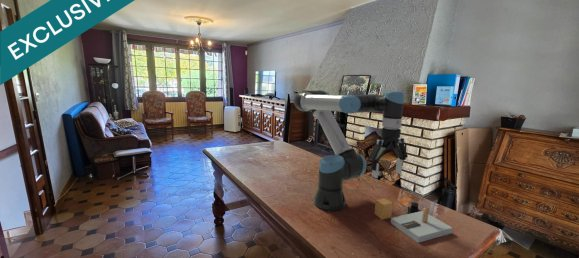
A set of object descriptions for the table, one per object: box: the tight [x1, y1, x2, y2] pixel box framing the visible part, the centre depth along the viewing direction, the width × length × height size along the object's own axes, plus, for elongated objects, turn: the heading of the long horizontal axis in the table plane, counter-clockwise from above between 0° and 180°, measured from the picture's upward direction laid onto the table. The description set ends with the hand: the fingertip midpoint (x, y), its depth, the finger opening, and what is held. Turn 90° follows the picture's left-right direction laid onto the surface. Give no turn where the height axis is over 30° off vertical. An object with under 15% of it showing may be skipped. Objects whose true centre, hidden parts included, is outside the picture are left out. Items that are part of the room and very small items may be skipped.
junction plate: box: [390, 206, 453, 244], centre depth 102 cm, size 18×14×8 cm
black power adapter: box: [406, 201, 421, 214], centre depth 115 cm, size 12×7×5 cm, turn 153°
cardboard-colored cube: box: [374, 197, 393, 220], centre depth 111 cm, size 5×5×7 cm
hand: (386, 175), depth 109 cm, fingers open, 13 cm apart
